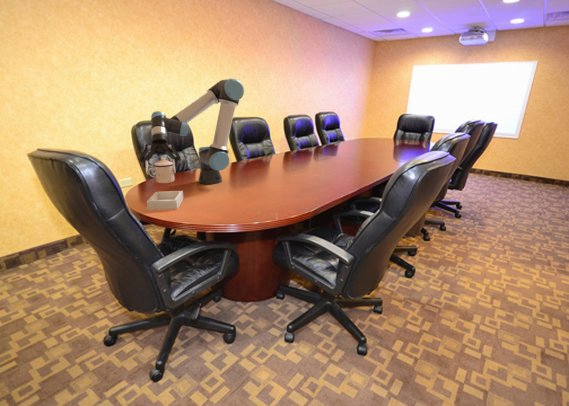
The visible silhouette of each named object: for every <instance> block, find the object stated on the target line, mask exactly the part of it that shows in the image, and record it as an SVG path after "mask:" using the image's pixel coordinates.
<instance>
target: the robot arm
mask: <svg viewBox="0 0 569 406" xmlns="http://www.w3.org/2000/svg"><path fill="white" fill-rule="evenodd" d="M244 95H245V88H244V85H243V84H242V82H241V81H240V80H239V79H235V78H228V79H221V80H219V81H217V82H216V83H215V84H214V85H212V86H211V87H210V88H209V89H207V90H206V93H204V94H203V95H201V96H200V97H198V99H196V100H194V101H193V102H192V103H190V104H188V105H187V106H186V107H185V108H183V109H181V110H180V111H179V112H177V113H176V114H175V115H173V116H171V117H167V115H166V114H165V113H164V112H163V111H159V110H157V111H153V112H152V113H151V115H150V124H151V126H150V127H151V144H150V145H148V144H147V143H146V144H144V149H143V150H142V153H141V155H140V156H139V158H138V160H139V162H140V163H141V164H142V163H143V164H142V165H143V168H144V169H145V173H146V175H149V173H148V170H149V161H150V160H151V159H152V158H153V156H154V155H156V154H164V153H165V154H166V155H167V156H168V157H170V159H172V163H173V170H174V174H176V167H178V162H179V161H181V159H182V158H181V156H180V154H179V152H178V151H177V149H176V147H175V144H174V143H173V142H172V143H171V144H169V143H168V133H169V134H173V135H178V136H182V137H186V136H188V134H189V131H190V125H189V122H191V121H192V120H194V119H195V118H196V117H197V116H199V115H201V114H202V113H204V112H205V111H206V110H208V109H209V108H210V107H213V105H215V104H216V105H218V104H219V103H220V106H219V109H218V116H217V121H216V125H215V129H214V136H213V140H212V144H210V145H209V146H201V147H198V158H199V168H200V171H199V175H198V183H200V184H202V185H214V184H219V183H221V182H223V178H222V175H221V172H220V171H224V170H225V169H227V167H228V166H229V164H230V157H229V152H230V151H229V148H228V144H229V143H228V142H229V137H230V134H231V129H232V124H233V119H234V113H235V109H236V107H237V106H239V102H240V100H241V99H242V98H243V97H244ZM150 149H151V150H150ZM169 149H170V150H171V151H172V152H171V151H170V150H169ZM148 152H149V153H148ZM149 176H150V175H149Z"/></svg>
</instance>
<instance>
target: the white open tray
mask: <svg viewBox="0 0 569 406" xmlns="http://www.w3.org/2000/svg"><path fill="white" fill-rule="evenodd" d="M183 200H184V191H183V190H171V191H170V190H169V191H154V193H153V194H152V195H151V196H150V198H149V199H147V201H146V206H147V211H157V210H158V211H161V210H162V211H163V210H178V209H179V207H180V205H181V204H182V202H183Z"/></svg>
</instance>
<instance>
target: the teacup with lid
mask: <svg viewBox="0 0 569 406" xmlns="http://www.w3.org/2000/svg"><path fill="white" fill-rule="evenodd" d="M153 166H154V167H153ZM153 166H152V167H150V168H148V173H149V176H150V177H151V178H155V180H156V182H157V183H159V184H167V183H168V184H170V183H173V182H174V181H175V180H176V178H175V173H174V169H173V161H169V160H166V158H165V157H162V158H160V160H158V161H157V162H155V163H153ZM151 170H154V173H155V175H153V174H152V173H151Z"/></svg>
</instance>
